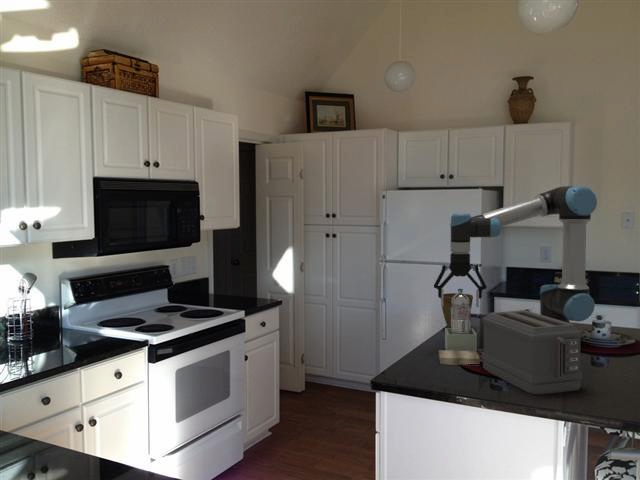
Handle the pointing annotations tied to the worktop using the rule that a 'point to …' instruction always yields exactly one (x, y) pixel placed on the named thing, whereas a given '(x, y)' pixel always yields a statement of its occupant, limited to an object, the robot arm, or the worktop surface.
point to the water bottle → (460, 313)
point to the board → (458, 357)
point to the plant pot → (448, 304)
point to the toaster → (532, 351)
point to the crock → (460, 340)
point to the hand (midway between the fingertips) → (459, 306)
